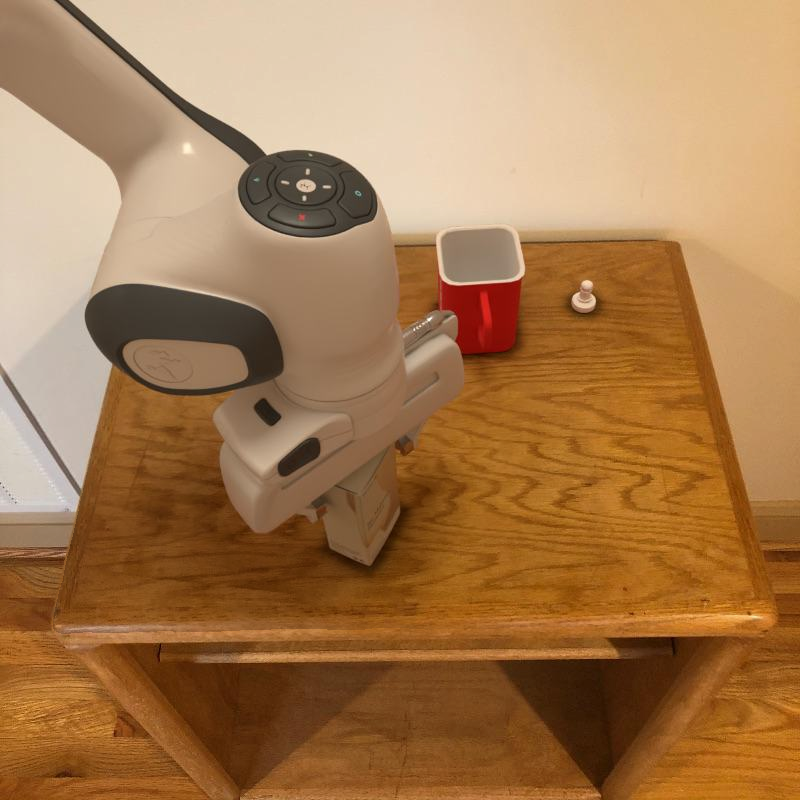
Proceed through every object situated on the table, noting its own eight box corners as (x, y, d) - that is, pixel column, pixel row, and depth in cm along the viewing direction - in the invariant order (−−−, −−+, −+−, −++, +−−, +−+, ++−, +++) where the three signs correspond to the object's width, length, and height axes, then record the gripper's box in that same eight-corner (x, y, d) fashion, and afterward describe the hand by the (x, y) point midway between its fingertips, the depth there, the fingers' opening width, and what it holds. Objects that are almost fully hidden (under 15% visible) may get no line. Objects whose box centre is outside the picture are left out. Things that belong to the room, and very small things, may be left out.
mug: (435, 301, 87) (434, 228, 79) (509, 296, 87) (516, 222, 79) (444, 386, 80) (443, 315, 72) (524, 380, 80) (533, 309, 72)
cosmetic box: (370, 568, 69) (358, 500, 59) (328, 549, 70) (309, 479, 60) (403, 510, 72) (397, 436, 62) (362, 492, 73) (349, 417, 63)
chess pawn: (566, 301, 86) (570, 278, 84) (586, 293, 87) (590, 270, 84) (579, 316, 85) (584, 294, 82) (599, 308, 86) (604, 285, 83)
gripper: (427, 276, 58) (431, 388, 69) (190, 427, 51) (237, 525, 62) (485, 323, 55) (480, 432, 66) (241, 491, 48) (281, 582, 59)
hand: (361, 479), depth 64 cm, fingers open, 8 cm apart
